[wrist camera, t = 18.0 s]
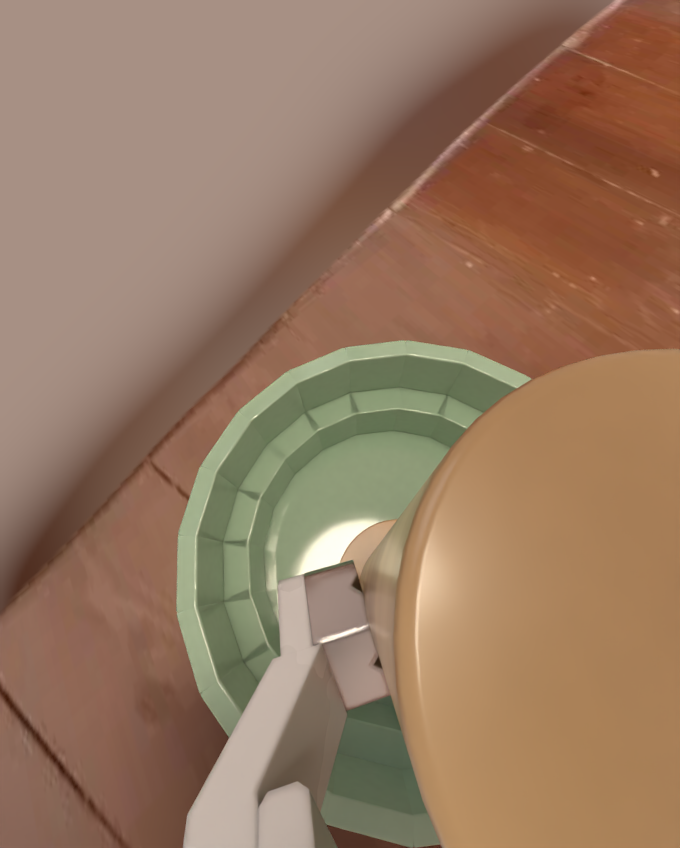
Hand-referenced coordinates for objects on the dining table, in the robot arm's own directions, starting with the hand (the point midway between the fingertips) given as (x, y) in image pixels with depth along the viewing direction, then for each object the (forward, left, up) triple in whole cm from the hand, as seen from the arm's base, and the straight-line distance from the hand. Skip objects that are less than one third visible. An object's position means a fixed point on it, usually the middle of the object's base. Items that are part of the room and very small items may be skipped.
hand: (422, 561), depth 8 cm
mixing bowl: (+1, 0, -12) cm, 12 cm away
